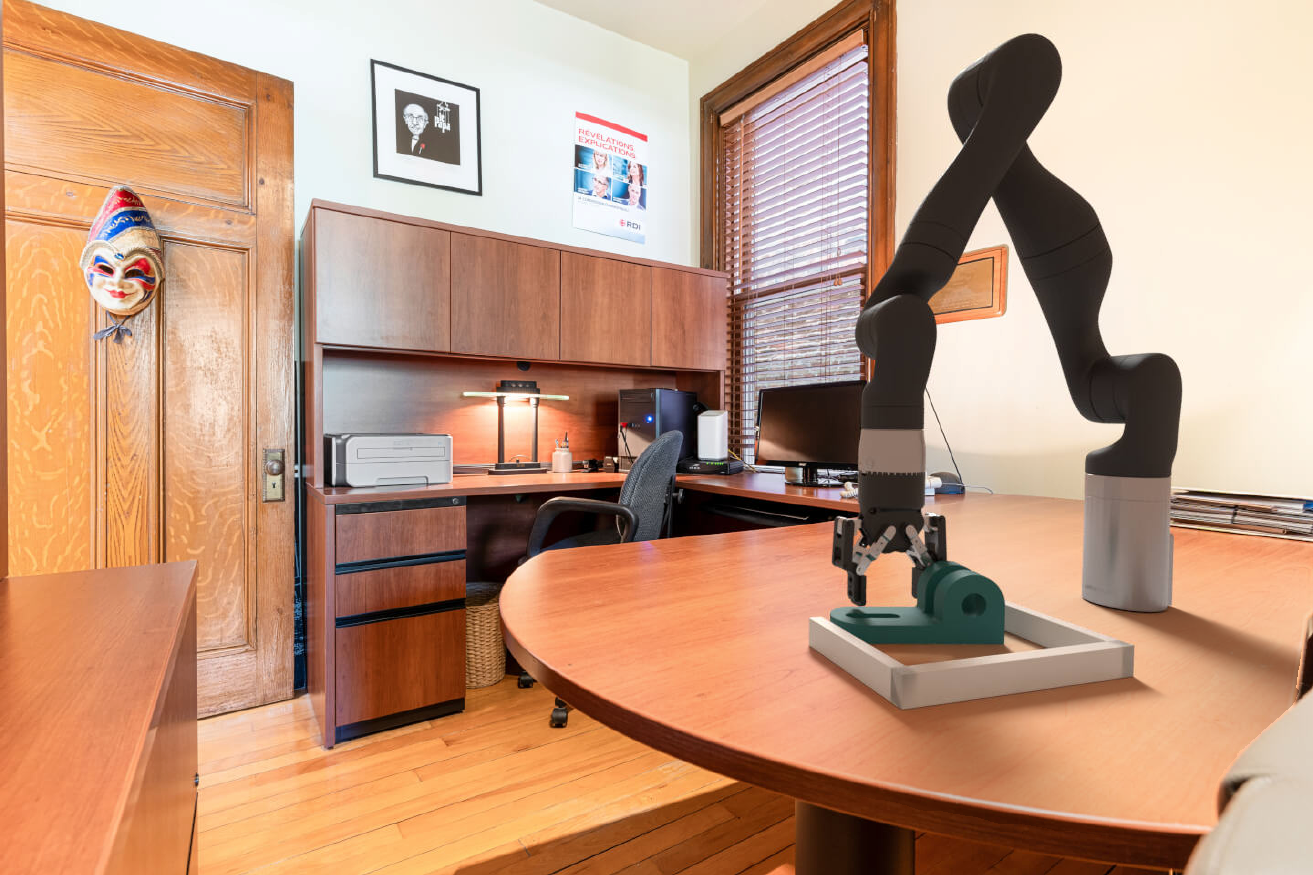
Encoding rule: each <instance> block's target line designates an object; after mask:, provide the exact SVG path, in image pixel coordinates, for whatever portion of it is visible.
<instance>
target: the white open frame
mask: <svg viewBox="0 0 1313 875" xmlns="http://www.w3.org/2000/svg"><path fill="white" fill-rule="evenodd" d="M1004 600H1005V599H1004ZM1004 632H1008V633H1010V634H1011V635H1015V636H1017V637H1020V638H1023V639H1024V640H1028V641H1030V642H1032V643H1035V644H1037V645H1040V646H1042V647H1044V649H1043V648H1042V649H1035V650H1026V651H1019V652H1018V651H1017V652H1009V653H1002V654H993V655H992V654H991V655H986V656H979V657H969V658H960V659H953V660H944V661H936V662H929V663H928V662H927V663H919V664H912V665H911V664H910V665H905V664H903V663H902V662H899V661H898V660H896V659H895V658H894V657H893V658H892V657H891V656H889V655H888V654H886V653H884V652H882V651H881V650H879V649H877V648H875V647H874V646H872V644H867V643H866V642H864V641H862V640H860V639H859V638H857V637H855V636H854V635H852V634H850V633H849V632H847V631H845V630H843V629H842V628H840V627H838V626H837V625H835V624H833V623H831V622H830V620H828V619H826V618H825V617H823V616H813V617H808V646H809V647H811V648H812V649H814V650H815V651H816V652H817V653H819V654H821V655H823V656H824V657H825V658H827V659H828V660H829V661H831V662H832V663H834V664H835V665H837V666H838V667H839V668H840V669H843V670H844V671H845V672H846V673H847V674H849V675H851V676H852V677H854V678H856V679H857V680H858V681H860V682H861V683H863V685H865V686H866V687H868V688H870V689H871V690H873V691H874V692H875V693H877V694H878V695H880V696H881V697H882V698H884V699H886V700H887V701H888V702H889V703H891V704H893V705H894V706H896V707H897V708H898V709H900V710H908V709H909V710H911V709H917V708H922V707H924V708H925V707H931V706H936V705H944V704H951V703H958V702H966V701H973V700H979V699H986V698H993V697H998V696H1001V697H1002V696H1005V695H1007V696H1008V695H1013V694H1014V695H1015V694H1020V693H1027V692H1035V691H1041V690H1048V689H1055V688H1061V687H1069V686H1075V685H1083V684H1088V683H1089V684H1090V683H1096V682H1102V681H1103V682H1104V681H1111V680H1118V679H1123V678H1124V679H1125V678H1130V677H1131V678H1132V677H1134V674H1135V673H1134V668H1135V664H1134V663H1135V645H1134V644H1131V643H1129V642H1126V641H1124V640H1119V639H1117V638H1114V637H1111V636H1109V635H1105V634H1104V633H1103V634H1102V633H1100V632H1098V631H1094V630H1091V629H1088V628H1086V627H1083V626H1080V625H1077V624H1075V623H1072V622H1068V621H1065V620H1063V619H1059V618H1056V617H1054V616H1051V615H1048V614H1046V613H1042V612H1039V611H1037V610H1034V609H1032V608H1029V607H1026V606H1023V605H1019V604H1016V603H1014V602H1012V601H1008V600H1005V627H1004Z"/></svg>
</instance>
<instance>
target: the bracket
mask: <svg viewBox="0 0 1313 875" xmlns="http://www.w3.org/2000/svg"><path fill="white" fill-rule="evenodd" d="M1003 593H1004V592H1002V589H1001V588H1000V586H999V585H998V584H997V582H995V581H993V580H992V579H990V578H989V577H986V576H985V575H982V574H981V573H979V572H976V571H974V570H972V569H970V568H968V567H966V566H964V565H962V564H960V563H958V562H955V561H952V560H947V561H939V562H935V563H933V564H931V565H930V566H928V567H927V568H926V569H925V570H924V571H923V573H922V574H921V576H920V578H919V581H918V585H917V599H916V605H915V606H860V607H859V606H839V607H837V608H836V607H835V608H833V609H832V610H830V611H829V621H830V622H831V623H833V624H835V625H837V626H838V627H840V628H842V629H843V630H845V631H847V632H849V633H850V634H852V635H854V636H855V637H857V638H859V639H860V640H862V641H864V642H866V643H867V644H869V645H984V646H985V645H987V646H988V645H990V646H992V645H999V646H1000V645H1001V646H1002V645H1005V630H1004V627H1005V595H1004V594H1003Z"/></svg>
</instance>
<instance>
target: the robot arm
mask: <svg viewBox="0 0 1313 875" xmlns="http://www.w3.org/2000/svg"><path fill="white" fill-rule="evenodd" d="M1062 78H1063V64H1062V57H1061V55H1060V53H1059V50H1058V48H1057V46H1056V45H1055V44H1054V42H1052V41H1051V40H1050V39H1049V38H1047V37H1045V36H1044V35H1042V34H1039V33H1036V32H1035V33H1031V32H1029V33H1023V34H1020V35H1017V36H1014V37H1013V38H1010V39H1008V40H1006V41H1004V42H1002V43H1001V44H999V45H997V46H996V47H995V48H993V49H991V50H989V51H988V52H987V53H985V54H984V55H982V56H981V57H979V58H978V59H976V60H975V61H973V62H972V63H970V64H969V65H968V66H966V67H965V68H963V69H962V70H961V71H959V72H958V73H957V74H956V75H955V76H954V78H953V79H952V81H951V82H950V85H949V87H948V89H947V97H946V105H947V112H948V118H949V120H950V123H951V126H952V128H953V130H954V132H955V134H956V136H957V138H958V140H959V141H960V143H961V145H962V147H961V149H960V150H959V151H958V153H957V154H956V155H955V157H954V158H953V160H952V161H951V163H950V164H949V165H948V166H947V167H946V169H945V171H944V172H943V173H942V174H941V176H939V178H938V179H937V181H936V182H935V183H934V185H933V186H931V188H930V190H929V191H928V192H927V193H926V195H925V196H924V197H923V198H922V201H921V202H920V204H919V205H918V207H917V209H916V210H915V211H914V214H913V215H912V218H911V220H910V221H909V223H908V226H907V227H906V230H905V232H904V234H903V236H902V239H901V241H900V242H899V245H898V247H897V249H896V251H895V253H894V256H893V259H892V262H891V263H890V265H889V267H888V269H887V270H886V271H885V273H884V274H883V275H882V277H881V278H880V280H879V281H878V283H877V285H876V286H875V287H874V289H873V291H872V293H871V294H870V295H869V297H868V299H867V300H866V302H865V303H864V306H863V307H862V310H861V311H860V313H859V315H858V317H857V321H856V324H855V328H854V329H855V331H854V338H855V340H854V341H855V343H856V345H857V348H858V350H859V351H860V352H861V353H862V355H864V356H865V357H867V358H868V359H870V360H873V361H874V367H873V374H872V375H873V376H872V378H871V379H870V380H869V382H868V383H866V384H865V386H864V387H863V390H862V393H861V394H862V395H861V405H860V406H861V412H860V414H861V415H860V416H861V418H860V420H861V421H860V428H861V429H860V437H859V444H858V458H857V459H858V470H857V475H858V476H857V503H858V505H859V506H858V507H859V514H858V516H857V518H848V517H844V516H840V515H838V516H836V517H835V519H834V523H833V533H832V534H833V537H832V538H833V539H832V552H831V553H832V554H831V564H832V565H833V566H834V567H836V568H839V569H841V570H843V571H845V572H846V574H847V578H846V579H847V583H846V584H847V590H846V591H847V592H846V594H847V598H848V599H849V600H850V602H851V604H852V605H855V606H856V607H866V605H867V580H868V579H867V577H868V575H867V574H866V575H865V573H866V571H867V570H868V569H869V567H870V565H871V564H872V563H873V562H874V561H876V560H878V558H879V556H880V555H881V554H884V555H886V554H892V553H894V552H897V553H900V554H901V553H902V554H903V553H904V554H906V556H907V557H908V558H909V559H910V561H911V562H912V564H913V566H912V567H911V596H912V598H913V599H916V600H917V585H918V581H919V578H920V576H921V574H922V573H923V571H924V570H925V569H926V568H927V567H928V566H930V565H931V564H933V563H935V562H939V561H948V551H947V550H948V548H947V547H948V546H947V520H946V517H945V516H944V515H942V514H937V513H934V512H925V514H924V515H923V512H922V509H923V508H924V507H925V505H926V468H927V467H926V465H927V464H926V463H927V460H926V459H927V458H926V457H927V452H926V451H927V450H926V449H927V448H926V441H925V430H924V429H925V392H926V387H927V384H928V381H929V378H930V374H931V371H932V370H931V369H932V366H933V365H932V364H933V361H934V356H935V351H936V346H937V341H938V339H937V338H938V330H937V329H938V326H937V321H936V316H935V314H934V311H933V309H932V306H930V304H929V302H930V300H931V298H932V297H934V296H935V295H936V294H937V293H938V292H939V291H941V290H943V288H944V287H945V286H946V285H948V283H949V282H950V280H951V279H952V277H953V275H954V273H955V271H956V269H957V267H958V265H959V263H960V260H961V258H962V256H963V254H964V251H965V249H966V247H967V245H968V243H969V241H970V239H971V237H972V235H973V232H974V231H975V227H976V226H977V224H978V222H979V220H980V218H981V216H982V214H983V212H984V210H985V209H986V207H987V206H988V204H989V201H991V199H992V200H993V202H994V205H995V206H996V209H997V211H998V213H999V215H1000V218H1001V219H1002V222H1003V224H1004V226H1005V228H1006V230H1007V233H1008V234H1009V237H1010V240H1011V242H1012V244H1013V247H1014V250H1015V253H1016V255H1017V258H1018V259H1019V262H1020V264H1021V266H1022V269H1023V272H1024V274H1025V276H1026V278H1027V280H1028V283H1029V284H1030V286H1031V288H1032V291H1033V292H1034V294H1035V297H1036V300H1037V302H1038V304H1039V306H1040V309H1041V312H1042V313H1043V316H1044V318H1045V321H1046V324H1047V327H1048V330H1049V332H1050V334H1051V336H1052V339H1053V342H1054V345H1055V348H1056V349H1055V350H1056V352H1057V355H1058V356H1057V357H1058V359H1059V361H1060V365H1061V369H1062V373H1063V376H1064V379H1065V382H1066V385H1067V389H1068V392H1069V394H1070V397H1071V401H1072V403H1073V404H1074V406H1075V408H1076V410H1077V411H1078V413H1079V414H1080V415H1081V416H1082V417H1083V418H1084V419H1086V420H1088V422H1092V423H1096V424H1108V425H1110V424H1113V425H1116V424H1117V425H1119V424H1121V425H1124V428H1123V432H1122V435H1121V437H1120V438H1118V439H1117V440H1115V442H1113V443H1112V444H1110V445H1107V446H1105V447H1102V448H1097V449H1095V450H1091V451H1089V452H1088V453H1087V455H1086V456H1085V462H1084V490H1083V491H1084V492H1083V493H1084V496H1083V497H1084V498H1083V499H1084V502H1083V535H1082V536H1083V539H1082V540H1083V542H1082V567H1081V568H1082V574H1081V575H1082V576H1081V598H1083V599H1084V600H1087V601H1088V602H1091V603H1094V604H1097V605H1101V606H1105V607H1108V608H1112V609H1113V608H1114V609H1118V610H1123V611H1124V610H1126V611H1135V612H1147V613H1149V612H1150V613H1151V612H1155V613H1156V612H1157V613H1158V612H1163V611H1166V610H1167V609H1168V607H1169V606H1172V605H1173V583H1174V582H1173V581H1174V580H1173V579H1174V577H1173V576H1174V574H1173V573H1174V549H1175V548H1174V547H1175V546H1174V543H1175V537H1174V535H1173V533H1171V507H1172V506H1171V505H1172V502H1171V500H1172V499H1171V497H1172V471H1173V470H1172V468H1173V463H1174V461H1175V459H1176V458H1175V457H1176V455H1177V450H1178V445H1179V433H1180V432H1179V431H1180V421H1181V413H1182V412H1181V411H1182V401H1183V400H1182V399H1183V379H1182V375H1181V371H1180V368H1179V366H1178V363H1177V362H1176V361H1175V360H1174V359H1173V357H1171V356H1170V355H1168V354H1165V353H1161V352H1145V353H1142V352H1141V353H1133V354H1122V355H1111V354H1110V353H1109V352H1108V350H1107V347H1106V346H1105V343H1104V340H1103V337H1102V334H1101V331H1100V330H1101V329H1100V325H1099V324H1100V323H1099V316H1100V311H1101V307H1102V303H1103V300H1104V298H1105V295H1106V293H1107V289H1108V286H1109V283H1110V278H1111V276H1112V270H1113V261H1114V260H1113V259H1114V257H1113V251H1112V250H1111V246H1110V243H1109V241H1108V238H1107V236H1106V233H1105V231H1104V228H1103V226H1102V224H1101V223H1102V222H1101V221H1100V218H1099V216H1098V214H1097V212H1096V210H1095V208H1094V207H1093V206H1092V204H1090V202H1088V200H1086V198H1084V196H1082V195H1081V194H1080V193H1078V191H1076V190H1075V189H1074V188H1072V187H1071V186H1070V185H1068V184H1067V183H1066V182H1064V181H1063V180H1062V179H1060V178H1059V177H1057V176H1056V175H1055V174H1053V173H1052V172H1051V171H1050V170H1048V169H1047V168H1045V166H1044V165H1043V164H1042V163H1041V162H1040V161H1039V160H1038V158H1037V157H1036V156H1035V154H1034V153H1033V151H1032V149H1031V148H1030V147H1031V146H1029V143H1028V139H1029V138H1030V137H1031V135H1032V134H1033V132H1034V131H1035V129H1036V128H1037V126H1039V125H1038V124H1040V122H1041V120H1042V119H1043V118H1044V115H1046V113H1047V112H1048V110H1049V109H1050V107H1051V105H1052V103H1053V102H1054V101H1055V98H1056V96H1057V94H1058V92H1059V88H1060V86H1061V83H1062ZM858 531H859V533H860V534H861V535H860V536H859V537H858V539H857V541H856V542H855V543H854V541H855V536H857V535H858ZM922 531H924V532H923V533H924V534H923V535H924V538H923V539H924V541H923V540H922V539H921V537H920V536H919V535H920V533H921V532H922ZM868 546H869V547H868Z"/></svg>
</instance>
